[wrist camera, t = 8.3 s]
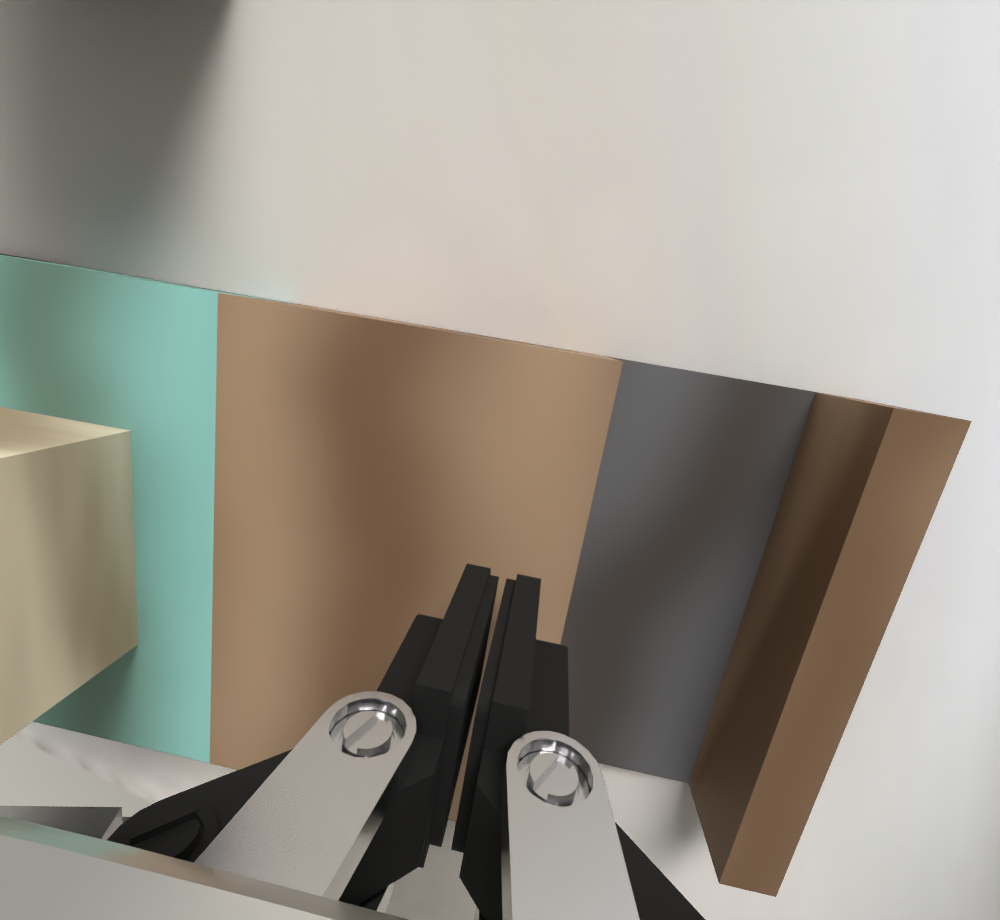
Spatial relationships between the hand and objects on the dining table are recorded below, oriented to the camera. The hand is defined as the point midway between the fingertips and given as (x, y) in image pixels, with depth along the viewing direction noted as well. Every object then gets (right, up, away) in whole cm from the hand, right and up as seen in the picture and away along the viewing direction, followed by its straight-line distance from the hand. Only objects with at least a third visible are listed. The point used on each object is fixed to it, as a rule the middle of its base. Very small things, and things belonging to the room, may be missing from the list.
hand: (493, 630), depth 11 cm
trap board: (-6, +2, +5) cm, 8 cm away
